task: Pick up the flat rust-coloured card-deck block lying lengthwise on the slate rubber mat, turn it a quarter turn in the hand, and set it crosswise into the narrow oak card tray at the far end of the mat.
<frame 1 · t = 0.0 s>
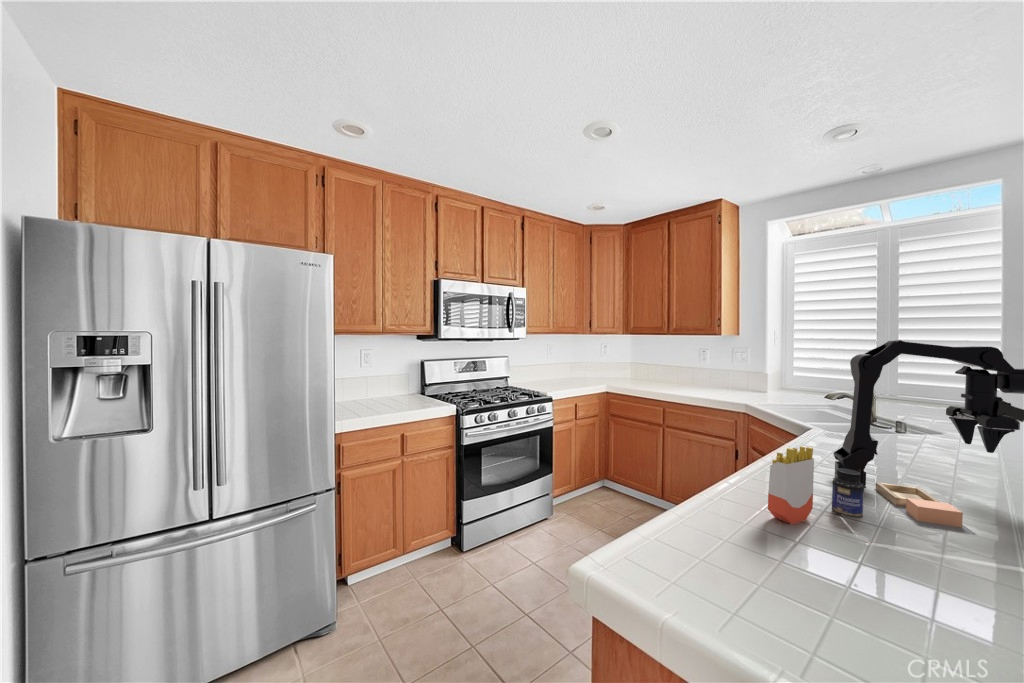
hand: (978, 448, 111), 15 cm above the countertop, tool pointing down, fingers open, 9 cm apart
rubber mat: (918, 510, 105), on the countertop
pill bottle: (846, 515, 102), on the countertop
card tray: (907, 499, 110), resting on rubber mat
card deck block: (932, 519, 99), point 1 cm above the countertop, touching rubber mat
french fries container: (789, 519, 99), on the countertop
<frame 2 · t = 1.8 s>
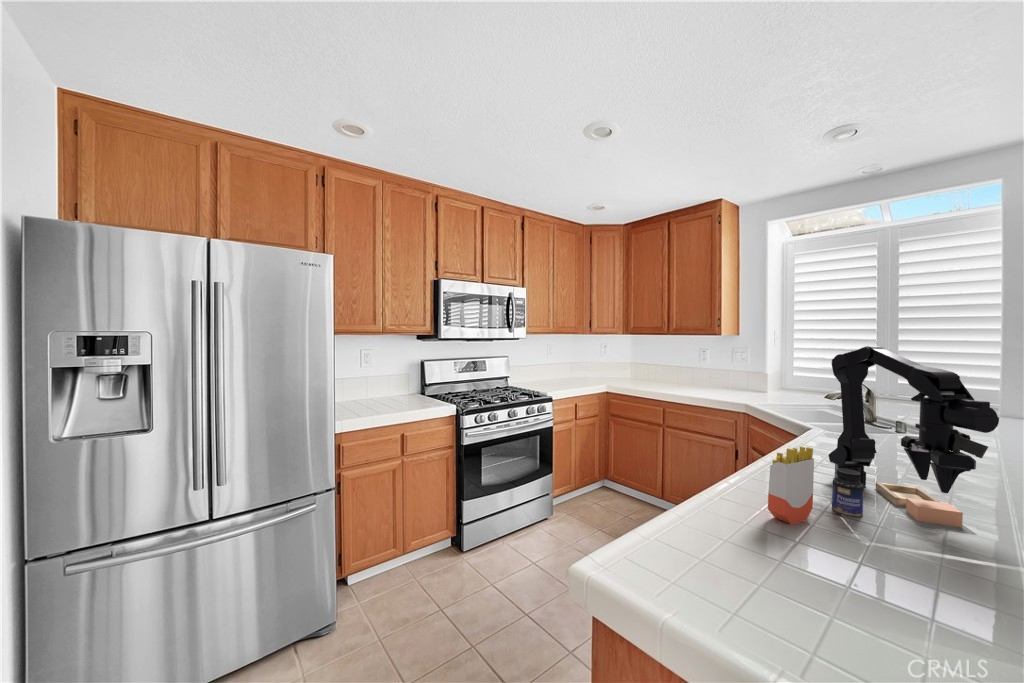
hand: (933, 486, 99), 9 cm above the countertop, tool pointing down, fingers open, 9 cm apart
nothing on the countertop moved.
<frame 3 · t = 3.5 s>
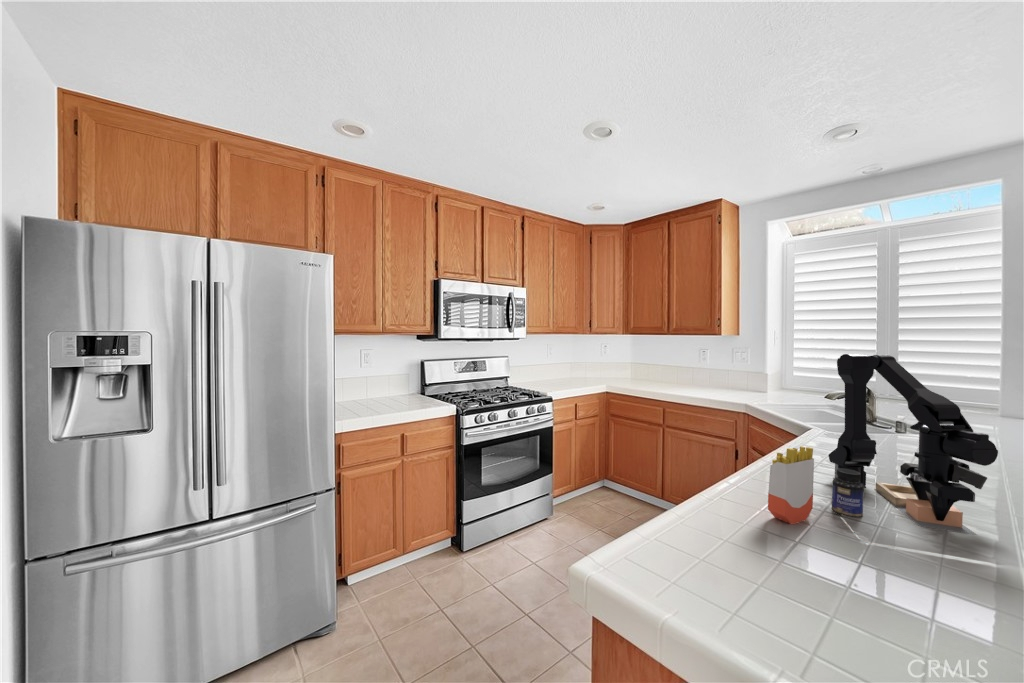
hand: (933, 515, 99), 2 cm above the countertop, tool pointing down, fingers closed on card deck block, 5 cm apart
card deck block: (932, 519, 99), point 1 cm above the countertop, touching gripper, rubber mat
everything else where it was.
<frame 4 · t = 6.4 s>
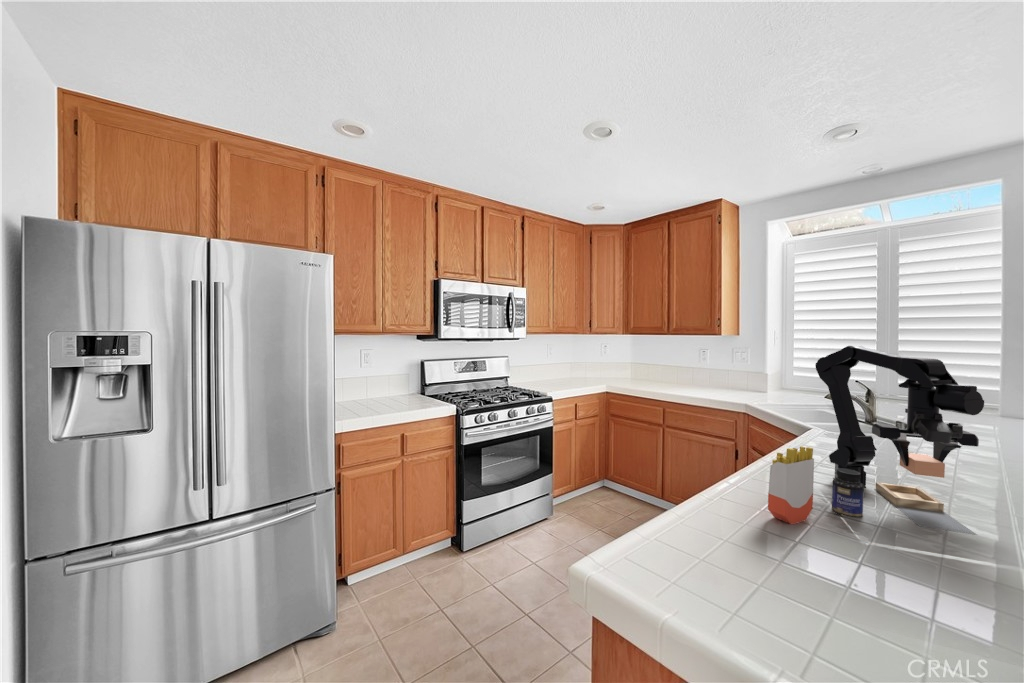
hand: (921, 467, 104), 11 cm above the countertop, tool pointing down, fingers closed on card deck block, 5 cm apart
card deck block: (920, 471, 104), point 11 cm above the countertop, touching gripper
everything else where it was.
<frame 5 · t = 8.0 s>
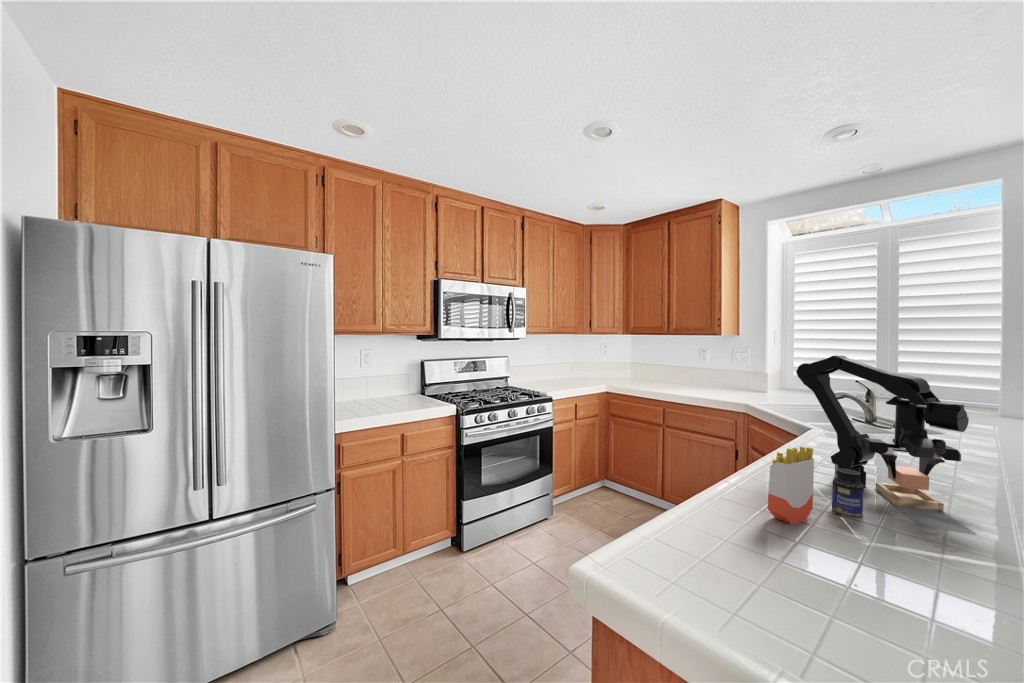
hand: (907, 480, 110), 6 cm above the countertop, tool pointing down, fingers closed on card deck block, 5 cm apart
card deck block: (907, 483, 110), point 5 cm above the countertop, touching gripper
everything else where it was.
when the fingers open (4 cm above the countertop, at t = 9.3 s): card deck block drops 1 cm, resting on card tray.
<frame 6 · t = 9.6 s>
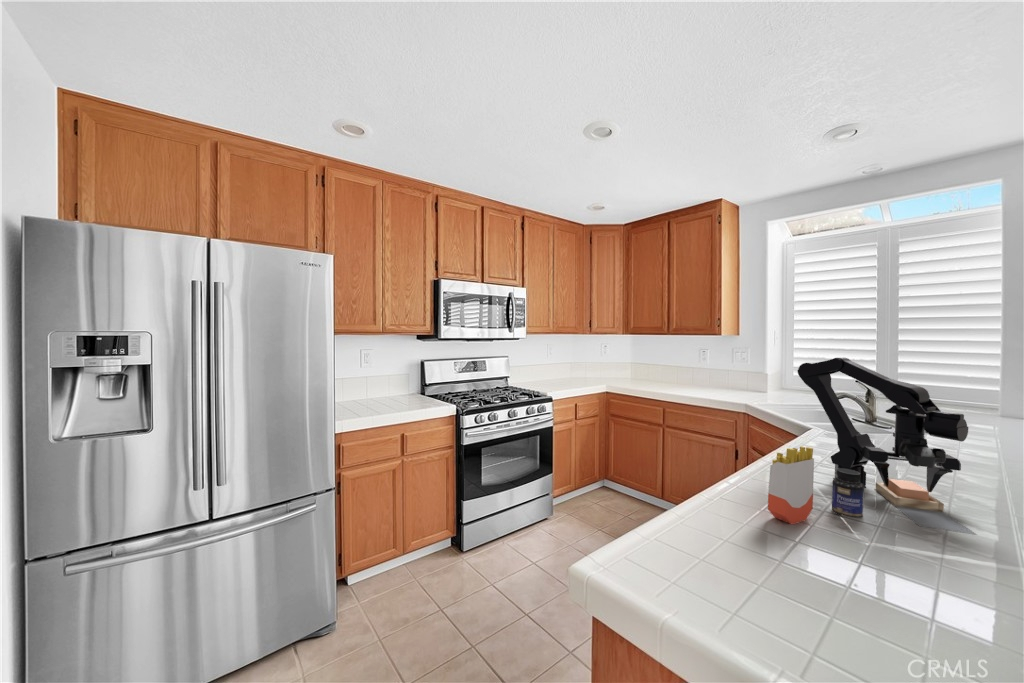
hand: (907, 489, 110), 4 cm above the countertop, tool pointing down, fingers open, 9 cm apart
card deck block: (907, 497, 110), point 1 cm above the countertop, touching card tray
everything else where it was.
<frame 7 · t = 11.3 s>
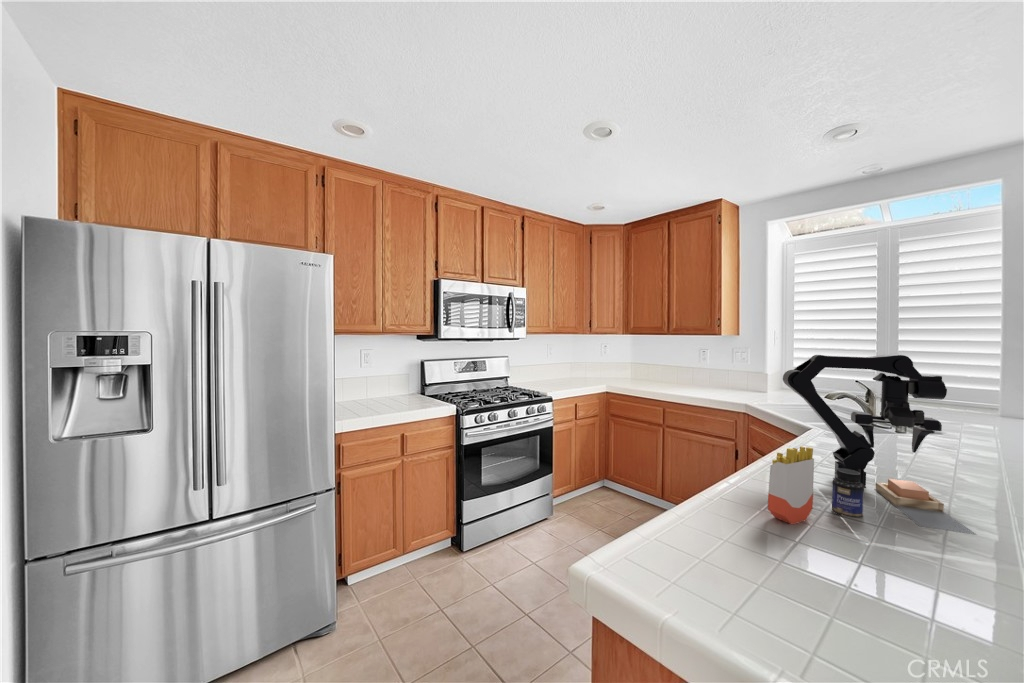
hand: (892, 449, 119), 12 cm above the countertop, tool pointing down, fingers open, 9 cm apart
nothing on the countertop moved.
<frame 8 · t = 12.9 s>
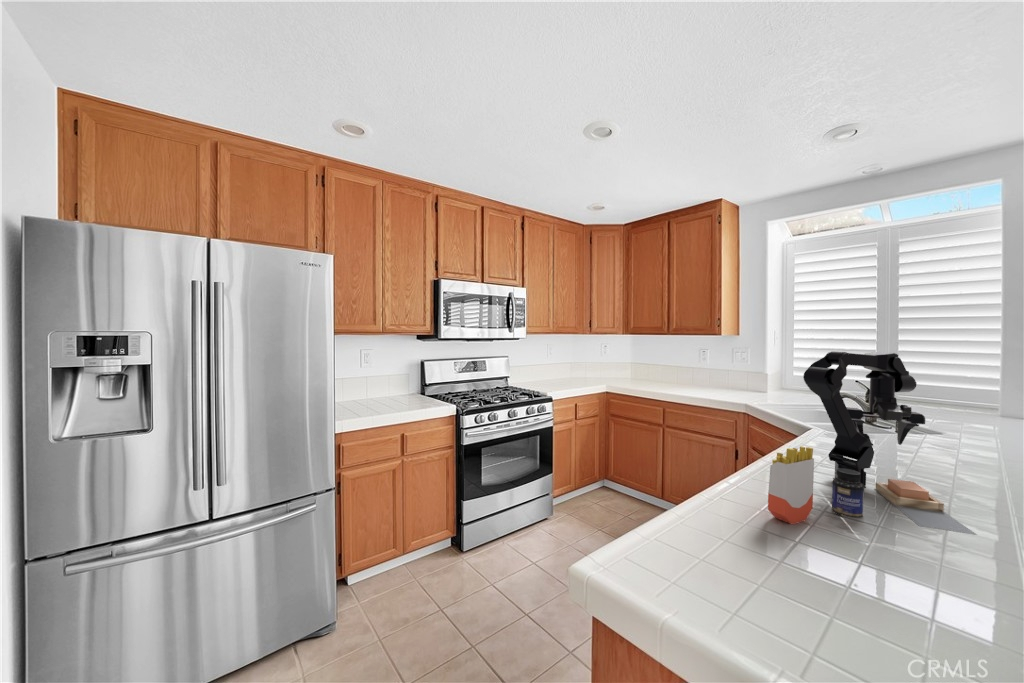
hand: (880, 442, 126), 12 cm above the countertop, tool pointing down, fingers open, 9 cm apart
nothing on the countertop moved.
at the end: card deck block 0.0 cm off-centre on the card tray, point 0.6 cm above the card tray's base; card deck block tilted 0°; the gripper is holding nothing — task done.
